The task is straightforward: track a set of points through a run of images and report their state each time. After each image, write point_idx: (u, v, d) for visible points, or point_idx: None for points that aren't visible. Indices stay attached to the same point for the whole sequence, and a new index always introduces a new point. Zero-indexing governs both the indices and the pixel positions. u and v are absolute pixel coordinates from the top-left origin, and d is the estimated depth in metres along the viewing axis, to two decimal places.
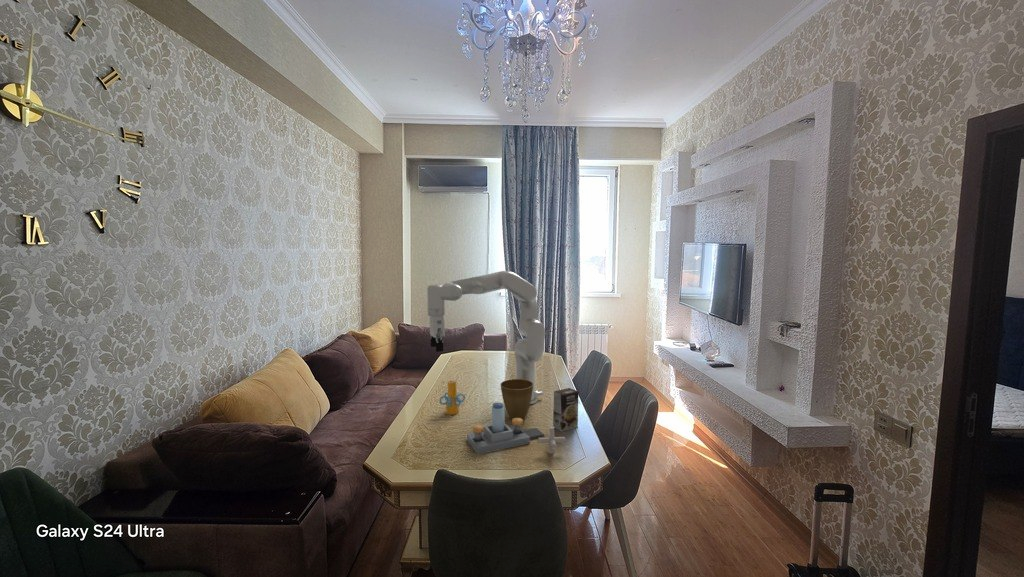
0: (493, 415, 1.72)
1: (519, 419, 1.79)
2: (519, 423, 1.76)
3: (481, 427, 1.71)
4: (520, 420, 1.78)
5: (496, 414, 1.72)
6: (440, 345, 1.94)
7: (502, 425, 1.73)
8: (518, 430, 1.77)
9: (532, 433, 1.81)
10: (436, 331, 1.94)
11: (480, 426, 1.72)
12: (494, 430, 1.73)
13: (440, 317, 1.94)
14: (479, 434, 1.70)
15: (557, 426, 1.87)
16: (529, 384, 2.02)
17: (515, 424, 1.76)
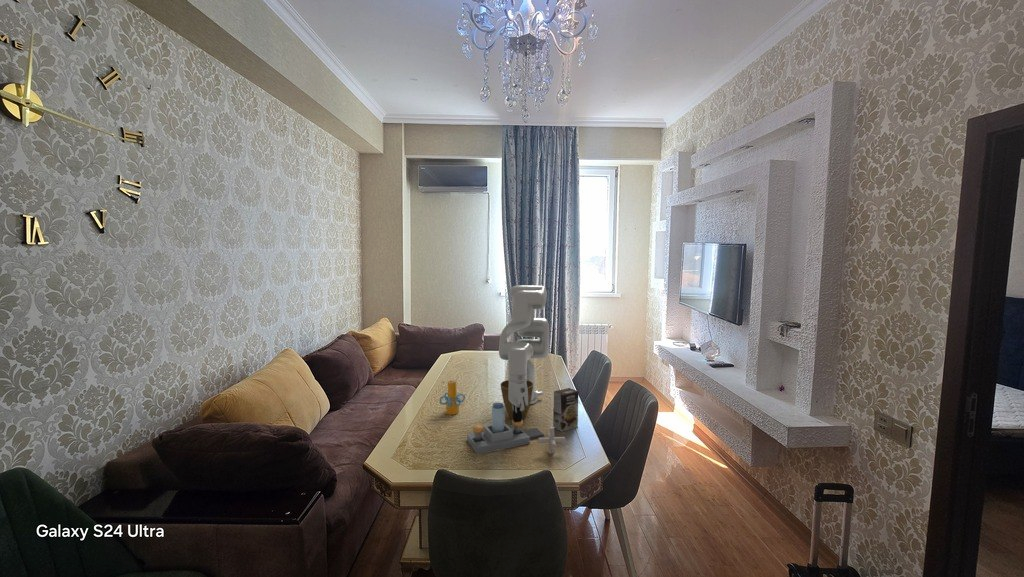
0: (493, 415, 1.72)
1: None
2: (519, 424, 1.76)
3: (481, 427, 1.71)
4: (520, 421, 1.78)
5: (496, 414, 1.72)
6: (519, 415, 1.76)
7: (502, 425, 1.73)
8: (518, 431, 1.77)
9: (532, 433, 1.81)
10: (518, 405, 1.73)
11: (480, 426, 1.72)
12: (494, 430, 1.73)
13: (523, 384, 1.73)
14: (479, 434, 1.70)
15: (557, 426, 1.87)
16: (529, 384, 2.02)
17: (515, 425, 1.76)
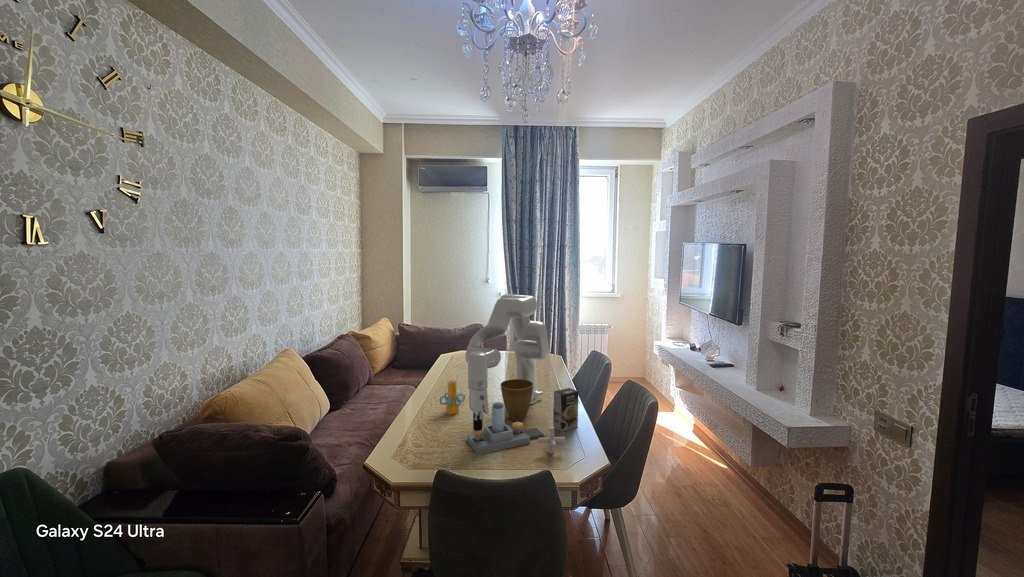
0: (493, 415, 1.72)
1: (519, 423, 1.79)
2: (519, 427, 1.76)
3: None
4: (520, 424, 1.78)
5: (496, 414, 1.72)
6: (479, 423, 1.70)
7: (502, 425, 1.73)
8: None
9: (532, 433, 1.81)
10: None
11: None
12: (494, 430, 1.73)
13: (483, 391, 1.66)
14: (479, 436, 1.70)
15: (557, 426, 1.87)
16: (529, 384, 2.02)
17: (515, 428, 1.76)
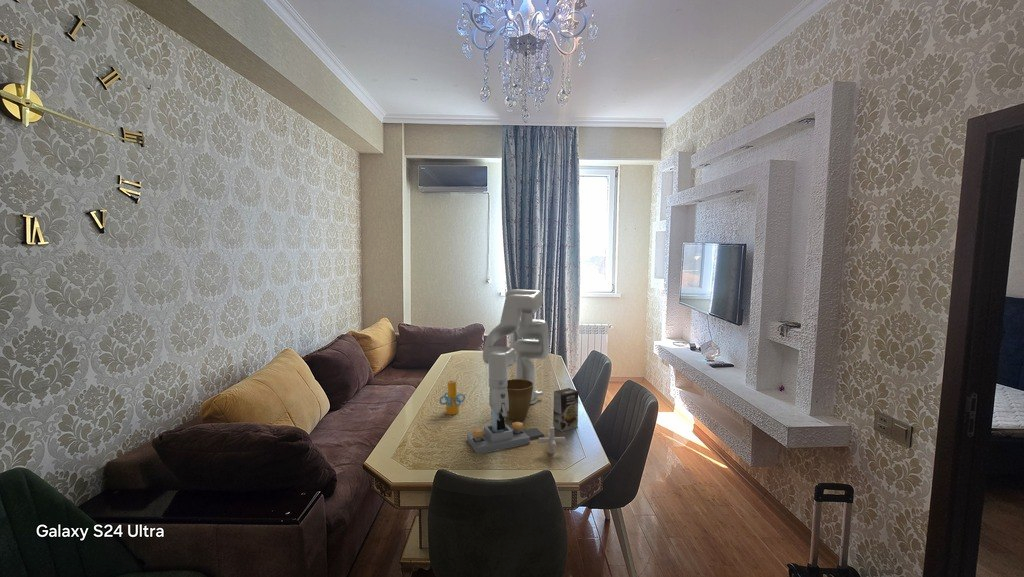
0: (493, 415, 1.72)
1: (519, 423, 1.79)
2: (519, 427, 1.76)
3: (481, 431, 1.71)
4: (520, 424, 1.78)
5: (496, 414, 1.72)
6: (502, 423, 1.71)
7: None
8: None
9: (532, 433, 1.81)
10: (499, 409, 1.69)
11: (480, 430, 1.72)
12: (494, 430, 1.73)
13: (504, 390, 1.69)
14: (479, 438, 1.70)
15: (557, 426, 1.87)
16: (529, 384, 2.02)
17: (515, 428, 1.76)
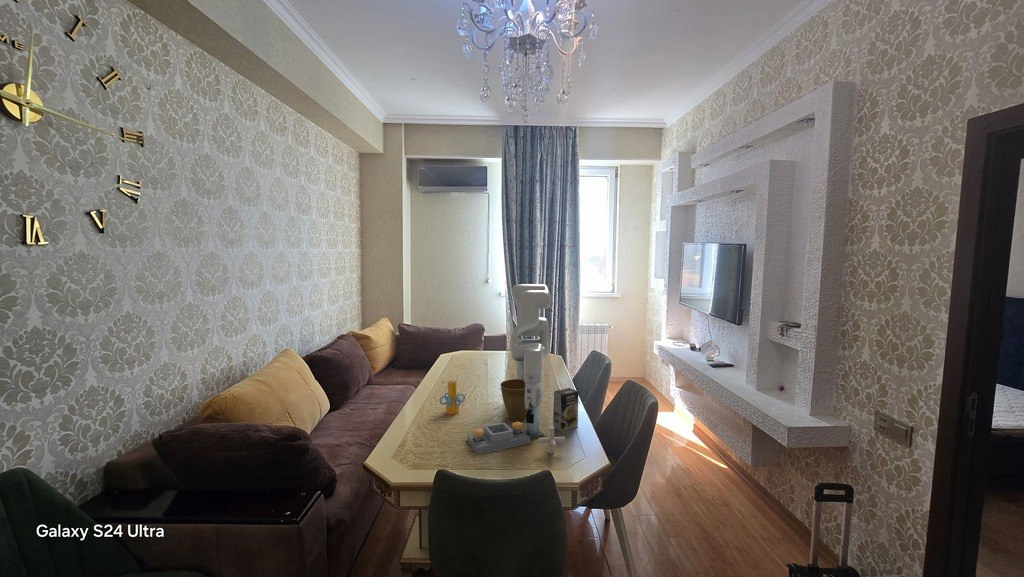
0: None
1: (519, 423, 1.79)
2: (519, 427, 1.76)
3: (481, 431, 1.71)
4: (520, 424, 1.78)
5: None
6: (529, 417, 1.76)
7: None
8: None
9: None
10: (525, 401, 1.76)
11: (480, 430, 1.72)
12: (527, 425, 1.81)
13: (531, 385, 1.75)
14: (479, 438, 1.70)
15: (557, 426, 1.87)
16: None
17: (515, 428, 1.76)
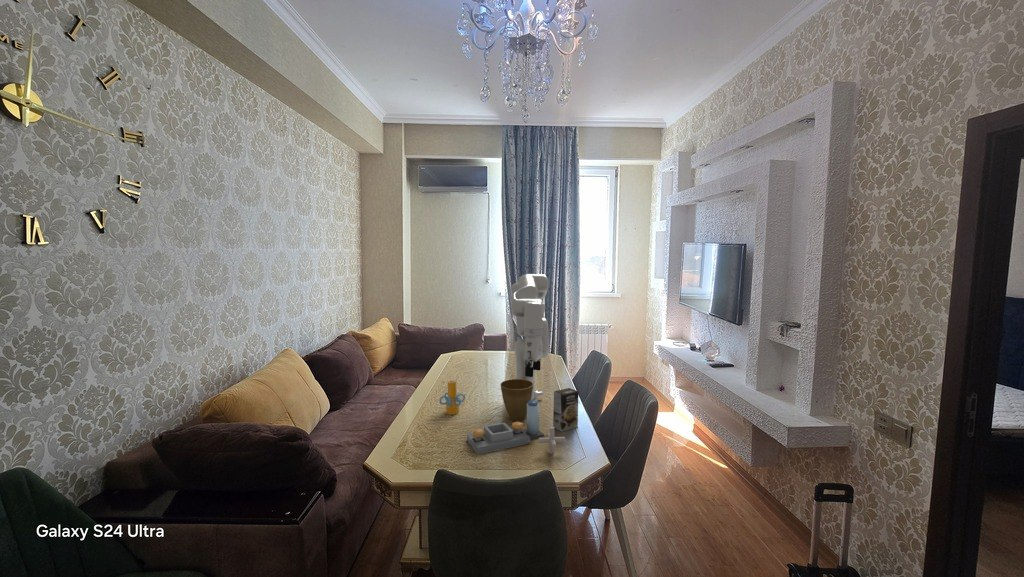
0: None
1: (519, 423, 1.79)
2: (519, 427, 1.76)
3: (481, 431, 1.71)
4: (520, 424, 1.78)
5: (527, 410, 1.80)
6: (528, 370, 1.73)
7: (532, 423, 1.79)
8: None
9: None
10: (526, 353, 1.74)
11: (480, 430, 1.72)
12: None
13: (531, 339, 1.73)
14: (479, 438, 1.70)
15: (557, 426, 1.87)
16: (529, 384, 2.02)
17: (515, 428, 1.76)
